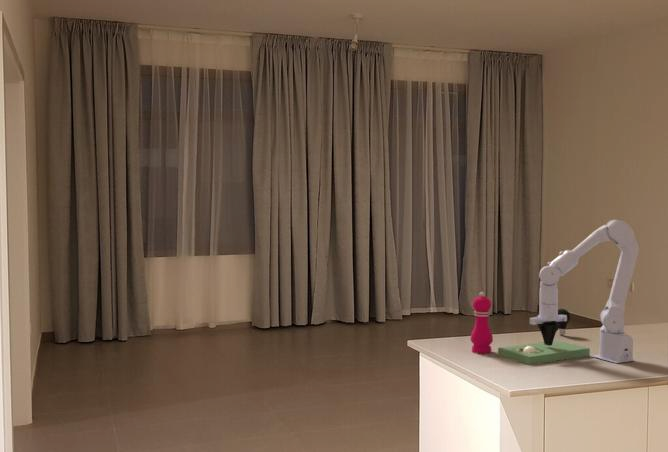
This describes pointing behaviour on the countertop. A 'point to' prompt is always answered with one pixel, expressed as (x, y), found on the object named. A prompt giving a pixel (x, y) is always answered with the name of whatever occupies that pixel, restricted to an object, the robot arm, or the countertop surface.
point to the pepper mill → (481, 325)
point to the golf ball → (529, 349)
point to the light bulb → (563, 323)
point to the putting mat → (544, 352)
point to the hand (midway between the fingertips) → (548, 344)
